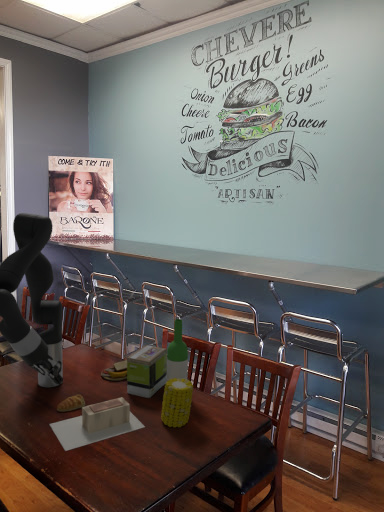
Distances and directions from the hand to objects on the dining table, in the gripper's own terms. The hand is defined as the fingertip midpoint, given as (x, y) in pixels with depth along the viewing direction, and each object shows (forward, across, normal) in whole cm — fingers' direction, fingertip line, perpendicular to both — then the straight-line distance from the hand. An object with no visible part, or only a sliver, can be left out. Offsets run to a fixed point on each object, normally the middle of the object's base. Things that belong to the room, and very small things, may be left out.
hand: (60, 382), depth 134 cm
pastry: (+21, +12, -3) cm, 24 cm away
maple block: (+15, -3, +3) cm, 16 cm away
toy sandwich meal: (+37, +17, -29) cm, 50 cm away
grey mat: (+20, -4, +2) cm, 21 cm away
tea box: (+37, -1, -25) cm, 45 cm away
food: (+32, -23, -10) cm, 41 cm away
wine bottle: (+39, -14, -24) cm, 48 cm away
